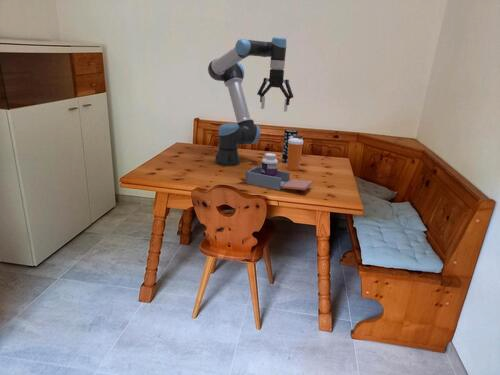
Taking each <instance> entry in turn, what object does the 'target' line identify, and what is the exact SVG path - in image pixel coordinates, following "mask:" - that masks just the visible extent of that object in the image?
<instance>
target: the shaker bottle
mask: <svg viewBox="0 0 500 375" xmlns="http://www.w3.org/2000/svg"><path fill="white" fill-rule="evenodd" d="M303 146H304V139H303V136H302V135H298V136H294V135H291V136H290V138H289V140H288V162H287V163H286V165H287V167H286V168H287V170H290V171H298V170H299V169H300V164H301V160H302V159H301V158H302V152H303Z"/></svg>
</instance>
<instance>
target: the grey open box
mask: <svg viewBox="0 0 500 375" xmlns="http://www.w3.org/2000/svg"><path fill="white" fill-rule="evenodd" d="M261 169H262V166H258V165H257V166H254V167H253V168H250V169H249V170H246V171H245V184H249V185H252V186H257V187H263V188H266V187H267V188H268V189H271V188H272V189H271V190H275V189H277V190H276V191H281V190H282V189H283V188H280V186H282V185H283V184H284V183H286V182H287V181H289V180H290V179H291V176H290V175H291V172H289V171H284V170H279V169H277V177H273V176H268V175H263V174H261ZM280 189H281V190H280Z"/></svg>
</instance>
